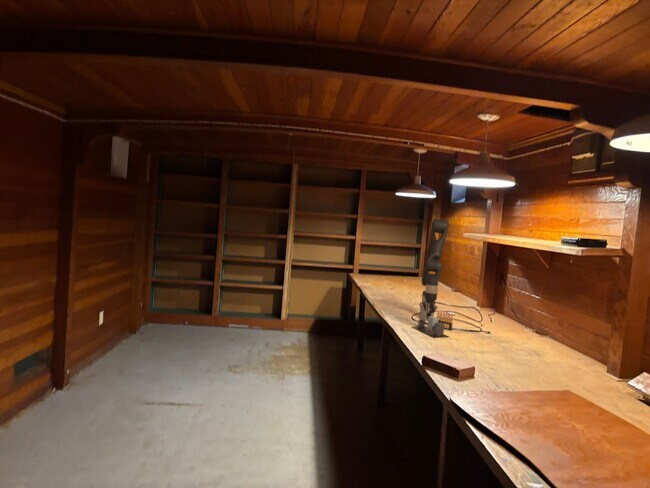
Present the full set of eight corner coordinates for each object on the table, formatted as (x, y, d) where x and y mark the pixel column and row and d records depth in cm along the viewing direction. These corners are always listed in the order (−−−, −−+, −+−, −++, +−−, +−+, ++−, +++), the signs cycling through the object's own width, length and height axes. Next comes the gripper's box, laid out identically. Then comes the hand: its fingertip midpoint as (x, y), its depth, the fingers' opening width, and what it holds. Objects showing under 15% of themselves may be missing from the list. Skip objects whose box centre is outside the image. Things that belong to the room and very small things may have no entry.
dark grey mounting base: (411, 327, 263) (412, 315, 263) (426, 326, 268) (427, 315, 268) (433, 337, 242) (434, 324, 242) (449, 337, 247) (450, 324, 246)
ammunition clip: (452, 330, 265) (454, 312, 264) (451, 330, 263) (453, 312, 262) (436, 326, 270) (438, 309, 270) (435, 327, 269) (437, 309, 268)
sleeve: (426, 328, 255) (428, 316, 254) (432, 328, 256) (433, 316, 256) (431, 330, 250) (433, 318, 250) (437, 330, 252) (438, 318, 251)
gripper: (420, 289, 260) (417, 316, 261) (432, 293, 248) (430, 321, 249) (429, 289, 263) (427, 316, 264) (442, 294, 251) (439, 321, 252)
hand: (428, 318), depth 257 cm, fingers closed
